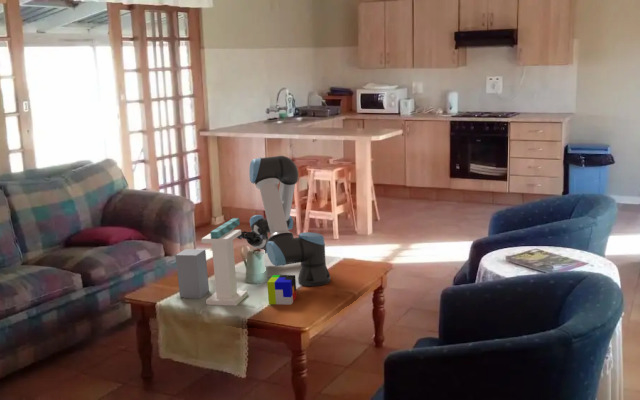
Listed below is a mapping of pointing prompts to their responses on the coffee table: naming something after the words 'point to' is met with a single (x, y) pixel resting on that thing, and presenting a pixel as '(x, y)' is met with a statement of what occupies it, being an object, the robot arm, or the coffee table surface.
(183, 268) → the slate block
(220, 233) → the teal bar
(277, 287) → the puzzle toy
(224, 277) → the off-white stand
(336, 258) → the coffee table surface
